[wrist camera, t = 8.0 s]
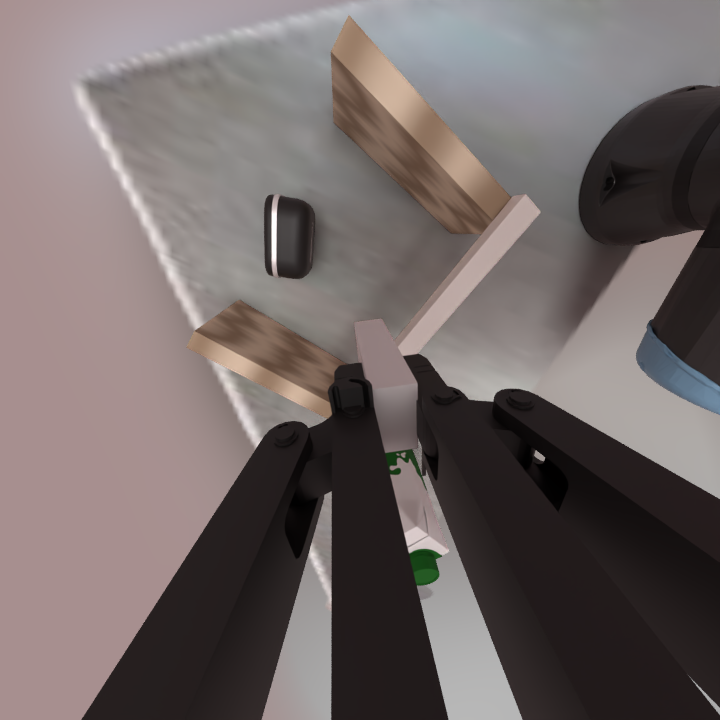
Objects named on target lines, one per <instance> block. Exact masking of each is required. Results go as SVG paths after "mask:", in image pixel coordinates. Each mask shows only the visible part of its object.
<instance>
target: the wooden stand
mask: <svg viewBox="0 0 720 720" xmlns="http://www.w3.org/2000/svg"><path fill="white" fill-rule="evenodd" d="M331 66H332V91H333V117H334V123H335V124H336V125H337V126H338V127H339V128H340V129H341V130H342V131H343V132H344V133H345V134H347V135H348V136H349V137H350V138H351V139H352V140H353V141H354V142H355V143H356V144H357V145H358V146H359V147H360V148H361V149H362V150H363V151H365V152H366V153H367V154H368V155H369V156H370V157H371V158H372V159H373V160H374V161H375V162H376V163H377V164H378V165H379V166H380V167H382V168H383V169H384V170H385V171H386V172H387V173H388V174H389V175H390V176H391V177H392V178H393V179H394V180H395V181H396V182H397V183H398V184H400V185H401V186H402V187H403V188H404V189H405V190H406V191H407V192H408V193H409V194H410V195H411V196H412V197H413V198H414V199H415V200H417V201H418V202H419V203H420V204H421V205H422V206H423V207H424V208H425V209H426V210H427V211H428V212H429V213H430V214H431V215H432V216H434V217H435V218H436V219H437V220H438V221H439V222H440V223H441V224H442V225H443V226H444V227H445V228H446V229H447V230H448V231H449V232H450V233H456V234H482V233H483V232H484V231H485V230H486V228H487V227H488V226H489V225H490V223H491V222H492V221H493V220H494V219H495V217H496V216H497V215H498V214H499V212H500V211H501V210H502V209H503V208H504V206H505V205H506V204H507V203H508V201H509V200H510V199H511V197H510V196H509V195H508V193H507V192H506V191H505V190H504V189H503V188H502V187H501V186H500V184H499V183H498V182H497V181H496V180H495V179H494V178H493V177H492V175H491V174H490V173H489V172H488V171H487V170H486V169H485V168H484V166H483V165H482V164H481V163H480V162H479V161H478V160H477V159H476V157H475V156H474V155H473V154H472V153H471V152H470V151H469V150H468V148H467V147H466V146H465V145H464V144H463V143H462V142H461V141H460V139H459V138H458V137H457V136H456V135H455V134H454V133H453V132H452V130H451V129H450V128H449V127H448V126H447V125H446V124H445V123H444V121H443V120H442V119H441V118H440V117H439V116H438V115H437V114H436V112H435V111H434V110H433V109H432V108H431V107H430V106H429V105H428V103H427V102H426V101H425V100H424V99H423V98H422V97H421V96H420V94H419V93H418V92H417V91H416V90H415V89H414V88H413V87H412V85H411V84H410V83H409V82H408V81H407V80H406V79H405V78H404V76H403V75H402V74H401V73H400V72H399V71H398V70H397V69H396V68H395V66H394V65H393V64H392V63H391V62H390V61H389V60H388V59H387V57H386V56H385V55H384V54H383V53H382V52H381V51H380V50H379V48H378V47H377V46H376V45H375V44H374V43H373V42H372V41H371V39H370V38H369V37H368V36H367V35H366V34H365V33H364V32H363V30H362V29H361V28H360V27H359V26H358V25H357V24H356V23H355V21H354V20H353V19H352V18H351V17H350V16H348V18H347V20H346V22H345V24H344V26H343V28H342V30H341V32H340V34H339V36H338V38H337V40H336V42H335V44H334V46H333V48H332V50H331ZM187 348H189V349H190V350H192V351H195V352H196V353H198V354H200V355H202V356H204V357H206V358H208V359H210V360H212V361H214V362H216V363H218V364H220V365H222V366H224V367H226V368H228V369H230V370H232V371H234V372H236V373H238V374H240V375H242V376H244V377H246V378H248V379H250V380H252V381H254V382H256V383H258V384H260V385H262V386H264V387H266V388H268V389H270V390H272V391H274V392H276V393H278V394H280V395H282V396H284V397H286V398H288V399H290V400H292V401H294V402H296V403H298V404H300V405H302V406H304V407H306V408H308V409H309V410H311V411H313V412H315V413H317V414H319V415H321V416H323V417H325V418H327V419H328V418H329V417H330V416H331V415H332V411H331V406H330V401H329V396H328V389H329V386H331V385H332V384H333V383H334V372H335V370H336V369H337V368H338V366H339V365H347V364H346V363H344V362H342V361H341V360H339V359H337V358H336V357H334V356H332V355H331V354H329V353H327V352H326V351H324V350H322V349H321V348H319V347H317V346H316V345H314V344H312V343H311V342H309V341H307V340H306V339H304V338H302V337H301V336H299V335H297V334H296V333H294V332H292V331H291V330H289V329H287V328H285V327H284V326H282V325H280V324H279V323H277V322H275V321H274V320H272V319H270V318H269V317H267V316H265V315H264V314H262V313H260V312H259V311H257V310H255V309H254V308H252V307H250V306H249V305H247V304H245V303H244V302H242V301H240V300H238V301H237V302H235V303H234V304H232V305H231V306H230V307H228V308H227V309H225V310H224V311H222V312H221V313H220V314H218V315H217V316H215V317H214V318H212V319H211V320H210V321H208V322H207V323H205V324H204V325H202V326H201V327H200V328H198V329H197V330H195V331H194V333H193V335H192V337H191V339H190V341H189V343H188V346H187Z"/></svg>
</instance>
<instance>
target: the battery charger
mask: <svg viewBox="0 0 720 720" xmlns="http://www.w3.org/2000/svg"><path fill="white" fill-rule="evenodd" d="M314 230H315V213H314V211H313V208H312V207H311V206H310V205H309V204H308V203H306V202H305V201H302V200H299V199H295V198H289V197H285V196H283V195H279V194H275V195H269V196H268V197H267V198H266V201H265V207H264V245H265V268H266V271H267V273H268V274H269V275H271V276H274V277H278V278H281V277H285V278H292V279H300V278H303V277H305V276H306V275H307V274H308V273H309V272H310V270H311V268H312V261H313V243H314Z"/></svg>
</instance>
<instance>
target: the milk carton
mask: <svg viewBox="0 0 720 720" xmlns="http://www.w3.org/2000/svg"><path fill="white" fill-rule="evenodd" d="M385 455H386V459H387V463H388V467H389V471H390V476H391V480H392V484H393V488H394V493H395V497H396V501H397V505H398V509H399V514H400V518H401V522H402V526H403V530H404V535H405V539H406V543H407V547H408V551H409V556H410V560H411V564H412V568H413V572H414V577H415V581H416V585H418V586H421V585H427V584H430V583H432V582H434V581H436V580H437V579H438V577H439V571H438V567H437V563H436V559H437V558H440V557H442V555H443V554H446V553H448V552H449V549H448V546H447V544H446V541H445V539H444V536H443V534H442V531H441V528H440V526H439V523H438V521H437V518H436V515H435V513H434V510H433V507H432V504H431V501H430V498H429V495H428V492H427V489H426V486H425V483H424V480H423V477H422V475H421V472H420V469H419V466H418V463H417V460H416V458H415V455H414V453H413V451H412V449H408V450H401V451H395V452H388V453H385Z"/></svg>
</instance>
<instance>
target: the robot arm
mask: <svg viewBox="0 0 720 720" xmlns="http://www.w3.org/2000/svg"><path fill="white" fill-rule="evenodd" d="M580 213H581V218H582V222H583V224H584V227H585V228H586V230H587V232H588V233H589V234H590V235H591V236H592V237H593V238H594V239H596V240H597V241H599V242H602V243H605V244H610V245H639V244H643V243H647V242H651V241H654V240H656V239H659V238H661V237H667V236H673V235H678V234H682V233H686V232H690V231H694V230H705V231H704V233H703V235H702V236H701V238H700V240H699V242H698V243H697V245H696V247H695V248H694V250H693V252H692V253H691V255H690V257H689V258H688V260H687V262H686V264H685V265H684V267H683V269H682V271H681V272H680V274H679V276H678V277H677V279H676V281H675V283H674V284H673V286H672V288H671V289H670V291H669V293H668V295H667V296H666V298H665V300H664V302H663V303H662V305H661V307H660V309H659V310H658V312H657V314H656V315H655V317H654V319H652V320H650V321H649V323H648V324H647V332H646V333H645V335H644V337H643V339H642V342H641V344H640V346H639V348H638V350H637V353H636V360H637V363H638V365H639V366H640V368H641V369H642V370H643V371H644V372H645V373H646V374H647V376H648V377H650V378H651V379H652V380H654V381H655V382H656V383H658V384H659V385H660V386H662V387H663V388H665V389H667V390H668V391H670V392H672V393H674V394H676V395H677V396H679V397H681V398H683V399H685V400H687V401H689V402H691V403H693V404H695V405H698V406H700V407H702V408H704V409H707V410H709V411H711V412H714V413H716V414H719V415H720V86H716V87H711V86H705V85H698V86H688V87H684V88H680V89H676V90H674V91H671V92H668V93H666V94H664V95H661V96H659V97H656V98H654V99H652V100H649V101H647V102H645V103H643V104H641V105H640V106H638V107H637V108H635V109H634V110H632V111H631V112H630V113H628V114H627V115H626V116H625V117H624V118H623V119H621V120H620V121H619V122H618V123H617V124H616V125H615V126H614V127H613V129H612V130H611V131H610V132H609V133H608V134H607V136H606V137H605V138H604V140H603V141H602V143H601V144H600V146H599V147H598V149H597V150H596V152H595V154H594V156H593V158H592V160H591V162H590V164H589V166H588V168H587V171H586V174H585V177H584V180H583V184H582V188H581V194H580ZM354 327H355V335H356V343H357V352H358V360H359V363H354V364H347V365H339V366H338V368H337V369H336V370H335V372H334V383H333V384H332V385H331V386H329V389H328V396H329V401H330V406H331V411H332V415H331V416H330V417H329V418H328V419H327V420H325V421H324V422H322V423H320V424H318V425H316V426H313V427H311V428H308V427H307V425H305V424H303V423H302V422H297V421H290V422H285V423H282V424H279V425H277V426H275V427H274V428H272V429H271V430H269V431H268V433H267V434H266V435H265V436H264V437H263V439H262V440H261V442H260V444H259V445H258V447H257V448H256V450H255V451H254V453H253V454H252V456H251V458H250V459H249V461H248V462H247V464H246V465H245V467H244V468H243V470H242V471H241V473H240V475H239V476H238V478H237V479H236V481H235V482H234V484H233V485H232V487H231V489H230V490H229V492H228V493H227V495H226V496H225V498H224V500H223V501H222V503H221V504H220V506H219V507H218V509H217V510H216V512H215V513H214V515H213V516H212V518H211V520H210V521H209V523H208V524H207V526H206V527H205V529H204V531H203V532H202V534H201V535H200V537H199V538H198V540H197V541H196V543H195V544H194V546H193V547H192V549H191V551H190V552H189V554H188V555H187V557H186V558H185V560H184V561H183V563H182V565H181V566H180V568H179V569H178V571H177V573H176V574H175V575H174V577H173V579H172V580H171V582H170V583H169V585H168V586H167V588H166V589H165V591H164V593H163V594H162V596H161V597H160V599H159V600H158V602H157V603H156V605H155V606H154V608H153V610H152V611H151V613H150V614H149V616H148V617H147V619H146V620H145V622H144V624H143V625H142V627H141V628H140V630H139V631H138V633H137V634H136V636H135V637H134V639H133V641H132V642H131V644H130V645H129V647H128V648H127V650H126V651H125V653H124V655H123V656H122V658H121V659H120V661H119V662H118V664H117V665H116V667H115V669H114V670H113V672H112V673H111V675H110V676H109V678H108V679H107V681H106V682H105V684H104V686H103V687H102V689H101V690H100V692H99V693H98V695H97V697H96V698H95V700H94V701H93V703H92V704H91V706H90V708H89V709H88V710H87V712H86V714H85V715H84V717H83V718H82V720H261V719H262V716H263V712H264V709H265V705H266V702H267V698H268V695H269V691H270V688H271V684H272V681H273V677H274V673H275V670H276V666H277V663H278V659H279V656H280V652H281V649H282V645H283V642H284V638H285V634H286V631H287V628H288V624H289V620H290V617H291V613H292V610H293V606H294V603H295V599H296V596H297V592H298V589H299V585H300V582H301V578H302V575H303V571H304V567H305V564H306V560H307V557H308V553H309V550H310V546H311V543H312V539H313V536H314V532H315V529H316V525H317V522H318V518H319V514H320V511H321V507H322V504H323V500H324V494H327V493H329V492H331V491H332V691H331V692H332V693H331V694H332V695H331V696H332V697H331V698H332V699H331V701H332V703H331V716H332V717H331V720H448V716H447V712H446V707H445V703H444V699H443V695H442V691H441V686H440V682H439V678H438V674H437V669H436V665H435V661H434V657H433V653H432V648H431V644H430V640H429V636H428V631H427V627H426V623H425V619H424V615H423V610H422V606H421V603H420V598H419V594H418V589H417V585H416V581H415V577H414V572H413V568H412V564H411V560H410V556H409V551H408V547H407V543H406V539H405V535H404V530H403V526H402V522H401V518H400V514H399V509H398V505H397V501H396V497H395V493H394V488H393V484H392V480H391V476H390V471H389V467H388V463H387V459H386V455H385V453H388V452H395V451H401V450H408V449H415V448H418V438H419V441H420V443H421V446H422V476H425V475H426V470H427V473H428V475H429V478H430V481H431V483H432V486H433V488H434V491H435V494H436V496H437V499H438V501H439V504H440V506H441V509H442V512H443V514H444V517H445V519H446V522H447V525H448V527H449V530H450V532H451V535H452V537H453V540H454V543H455V545H456V548H457V551H458V553H459V556H460V558H461V561H462V563H463V566H464V568H465V571H466V574H467V576H468V579H469V582H470V584H471V587H472V589H473V592H474V595H475V597H476V600H477V602H478V605H479V607H480V610H481V613H482V615H483V618H484V620H485V623H486V626H487V628H488V631H489V633H490V636H491V639H492V641H493V644H494V646H495V649H496V651H497V654H498V657H499V659H500V662H501V665H502V667H503V670H504V672H505V675H506V678H507V680H508V683H509V685H510V688H511V690H512V693H513V696H514V698H515V701H516V703H517V706H518V709H519V711H520V714H521V716H522V719H523V720H720V715H719V714H718V712H717V711H716V710H715V709H714V708H713V706H712V705H711V704H710V702H709V701H708V700H707V699H706V697H705V696H704V695H703V694H702V692H701V691H700V690H699V689H698V687H697V686H696V685H695V683H696V684H698V686H699V687H701V689H702V690H703V691H704V692H705V693H706V694H707V695H708V696H709V697H710V698H711V699H712V700H713V701H714V702H715V703H716V704H717V705H718V706H719V707H720V499H718V498H717V497H715V496H713V495H711V494H710V493H708V492H706V491H704V490H703V489H701V488H699V487H697V486H696V485H694V484H692V483H690V482H689V481H687V480H685V479H683V478H682V477H680V476H678V475H676V474H675V473H673V472H671V471H669V470H668V469H666V468H664V467H662V466H661V465H659V464H657V463H655V462H654V461H652V460H650V459H648V458H646V457H645V456H643V455H641V454H639V453H638V452H636V451H634V450H632V449H631V448H629V447H627V446H625V445H624V444H622V443H620V442H618V441H617V440H615V439H613V438H611V437H610V436H608V435H606V434H604V433H603V432H601V431H599V430H597V429H596V428H594V427H592V426H590V425H589V424H587V423H585V422H583V421H582V420H580V419H578V418H576V417H575V416H573V415H571V414H569V413H567V412H566V411H564V410H562V409H561V408H559V407H557V406H555V405H553V404H552V403H550V402H548V401H546V400H545V399H543V398H541V397H539V396H538V395H535V394H533V393H531V392H529V391H525V390H521V389H504V390H501V391H499V392H497V393H496V395H495V397H494V402H489V401H475V400H469V399H468V398H467V397H466V396H465V394H463V393H462V392H461V391H460V390H458V389H456V388H453V387H449V386H447V385H446V384H445V382H444V381H443V380H442V378H441V377H440V376H439V374H438V373H437V372H436V371H435V369H434V367H433V366H431V363H430V362H429V361H428V359H427V358H425V357H423V356H422V355H420V354H413V355H406V356H402V354H401V352H400V350H399V349H398V347H397V345H396V343H395V341H394V340H393V338H392V336H391V334H390V332H389V331H388V329H387V327H386V325H385V323H384V322H383V320H382V318H381V319H373V320H366V321H358V322H354ZM535 450H537V451H538V452H539V453H540V454H542V455H543V456H544V457H545V461H540V460H539V459H537V458H536V457H535V456H534V454H535ZM687 674H688V675H689V676H690V677H691V678H690V677H689V676H688V675H687ZM691 679H692V680H693V681H695V683H694V682H693V681H692V680H691Z"/></svg>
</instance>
